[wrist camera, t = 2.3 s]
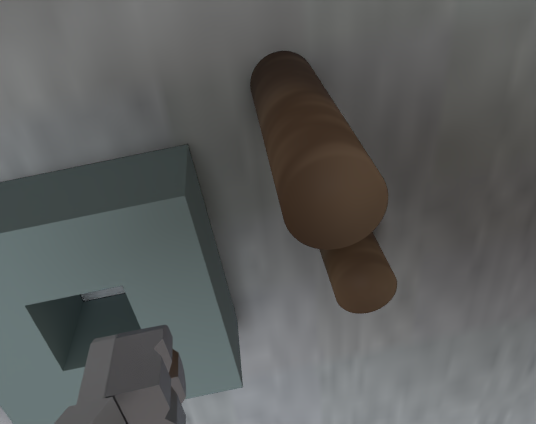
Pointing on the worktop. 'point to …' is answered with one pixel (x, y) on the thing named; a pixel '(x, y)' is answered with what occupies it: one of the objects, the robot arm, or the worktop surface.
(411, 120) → the worktop surface
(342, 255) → the short peg
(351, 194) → the long peg
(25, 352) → the hole block
